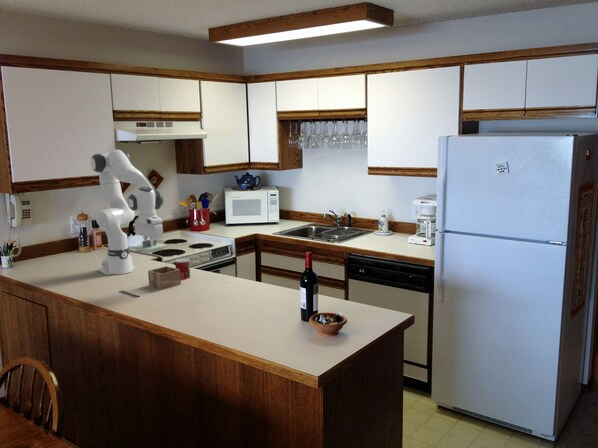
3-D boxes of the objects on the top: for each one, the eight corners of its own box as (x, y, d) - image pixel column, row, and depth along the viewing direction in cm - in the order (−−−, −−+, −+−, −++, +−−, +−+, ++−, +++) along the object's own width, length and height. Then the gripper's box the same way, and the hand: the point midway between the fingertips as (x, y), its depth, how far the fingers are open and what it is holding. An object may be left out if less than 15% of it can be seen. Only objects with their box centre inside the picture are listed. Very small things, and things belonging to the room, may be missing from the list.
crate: (149, 286, 295) (148, 270, 293) (167, 281, 304) (166, 266, 302) (162, 290, 287) (161, 274, 285) (181, 285, 296) (180, 269, 294)
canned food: (187, 281, 304) (186, 261, 302) (173, 280, 306) (172, 261, 304) (192, 277, 312) (191, 258, 310) (179, 276, 313) (178, 258, 311)
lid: (132, 250, 287) (131, 240, 286) (152, 246, 297) (152, 236, 296) (146, 254, 279) (145, 244, 278) (167, 249, 288) (167, 239, 287)
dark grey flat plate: (119, 291, 287) (119, 291, 287) (145, 284, 299) (145, 284, 299) (136, 297, 276) (136, 297, 276) (162, 290, 288) (162, 289, 288)
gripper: (130, 217, 289) (132, 243, 291) (154, 221, 276) (155, 248, 278) (141, 216, 294) (143, 241, 296) (164, 219, 281) (166, 246, 283)
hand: (149, 244), depth 287 cm, fingers closed on lid
